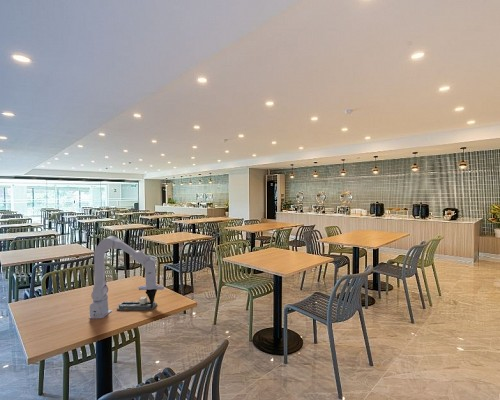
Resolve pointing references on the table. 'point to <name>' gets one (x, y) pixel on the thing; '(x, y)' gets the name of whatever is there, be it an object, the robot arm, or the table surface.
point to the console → (136, 306)
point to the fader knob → (143, 300)
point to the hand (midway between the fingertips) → (152, 302)
